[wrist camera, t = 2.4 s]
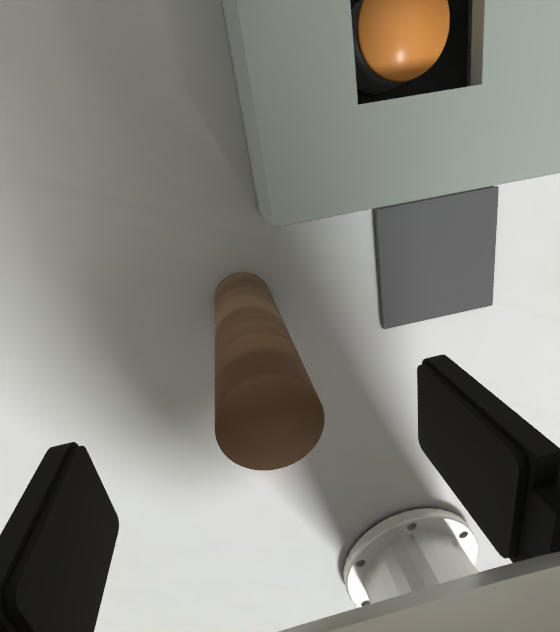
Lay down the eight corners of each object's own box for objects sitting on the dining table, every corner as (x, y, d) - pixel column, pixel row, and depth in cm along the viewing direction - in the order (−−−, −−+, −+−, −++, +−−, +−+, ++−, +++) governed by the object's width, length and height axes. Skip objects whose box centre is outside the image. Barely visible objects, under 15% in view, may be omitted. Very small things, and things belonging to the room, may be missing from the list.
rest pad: (488, 303, 27) (492, 305, 27) (381, 326, 26) (384, 329, 26) (494, 186, 24) (498, 186, 24) (373, 209, 23) (376, 210, 23)
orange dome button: (416, 87, 20) (449, 73, 17) (342, 99, 19) (363, 87, 17) (414, -9, 18) (450, -41, 15) (333, 2, 18) (355, -28, 15)
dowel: (274, 319, 25) (330, 455, 13) (221, 330, 25) (228, 481, 13) (264, 267, 24) (317, 366, 12) (209, 278, 23) (202, 392, 11)
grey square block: (480, 172, 24) (561, 172, 18) (259, 213, 22) (274, 227, 17) (490, -133, 18) (609, -265, 13) (203, -102, 17) (198, -232, 12)
